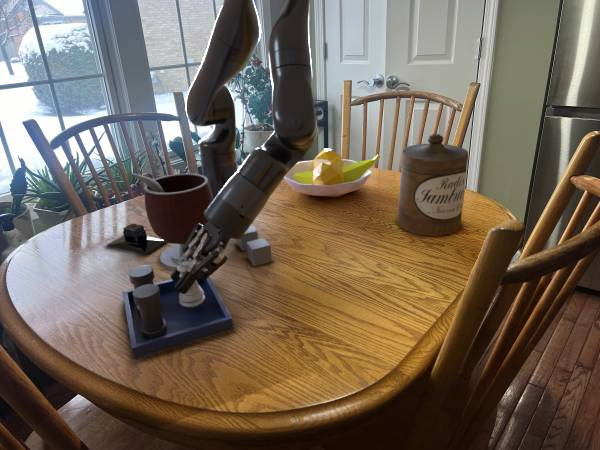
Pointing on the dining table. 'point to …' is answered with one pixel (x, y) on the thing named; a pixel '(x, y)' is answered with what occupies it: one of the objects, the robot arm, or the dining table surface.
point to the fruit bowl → (329, 175)
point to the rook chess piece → (195, 292)
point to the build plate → (136, 240)
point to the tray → (178, 318)
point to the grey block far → (247, 237)
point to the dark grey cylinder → (150, 311)
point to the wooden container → (432, 187)
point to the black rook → (141, 277)
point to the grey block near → (259, 252)
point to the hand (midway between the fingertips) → (177, 285)
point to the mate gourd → (176, 209)
